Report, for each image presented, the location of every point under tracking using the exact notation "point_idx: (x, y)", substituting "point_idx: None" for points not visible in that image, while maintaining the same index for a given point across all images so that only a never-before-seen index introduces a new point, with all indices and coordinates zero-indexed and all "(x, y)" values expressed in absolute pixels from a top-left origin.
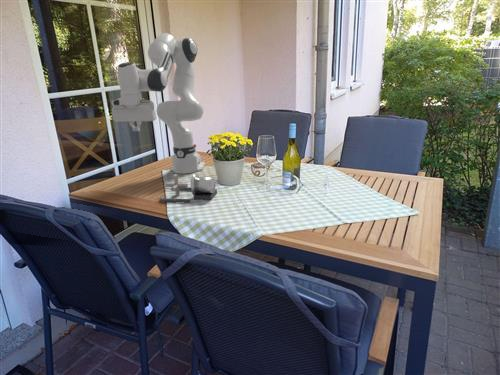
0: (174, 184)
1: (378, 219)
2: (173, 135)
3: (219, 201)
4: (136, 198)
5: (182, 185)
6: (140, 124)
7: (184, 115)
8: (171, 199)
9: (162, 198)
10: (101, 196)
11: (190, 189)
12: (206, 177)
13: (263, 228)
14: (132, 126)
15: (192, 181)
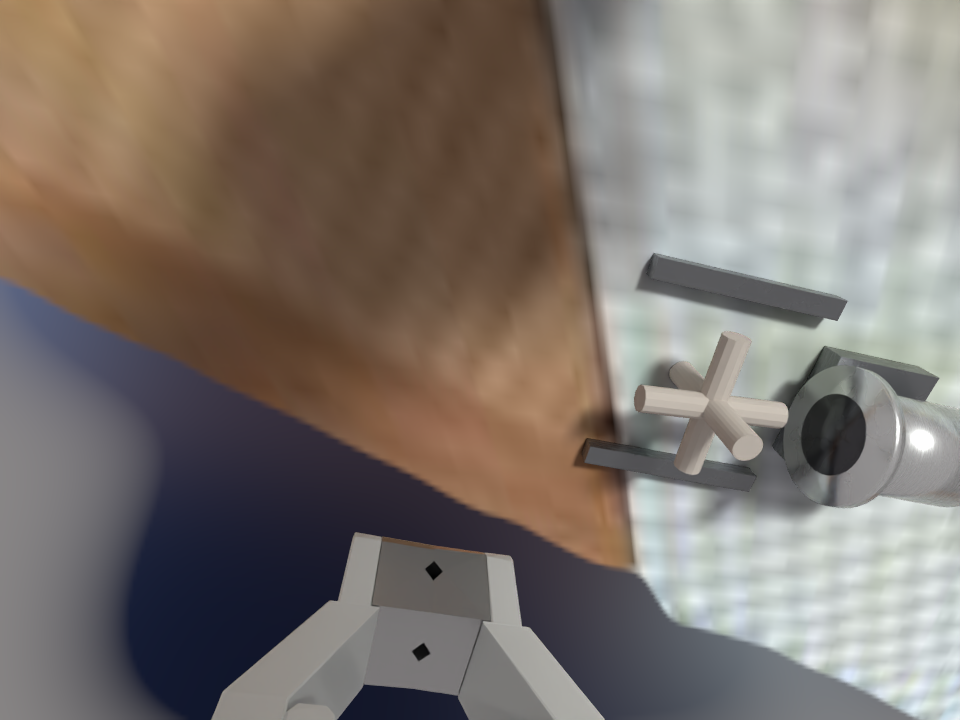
0: (701, 419)
1: None
2: None
3: None
4: (429, 388)
5: (751, 424)
6: (574, 718)
7: None
8: (656, 471)
9: (603, 453)
10: (164, 324)
11: (771, 303)
12: (950, 471)
13: None
14: (334, 713)
15: (841, 507)
